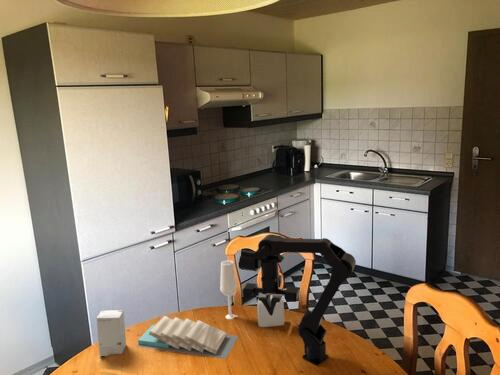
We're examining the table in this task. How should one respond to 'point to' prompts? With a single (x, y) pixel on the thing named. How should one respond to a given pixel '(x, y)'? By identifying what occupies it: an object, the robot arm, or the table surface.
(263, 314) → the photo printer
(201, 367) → the table surface
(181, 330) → the domino
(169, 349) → the domino board
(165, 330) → the domino
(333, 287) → the robot arm
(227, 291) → the champagne flute
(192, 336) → the domino
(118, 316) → the skincare box
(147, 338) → the domino
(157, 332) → the domino
